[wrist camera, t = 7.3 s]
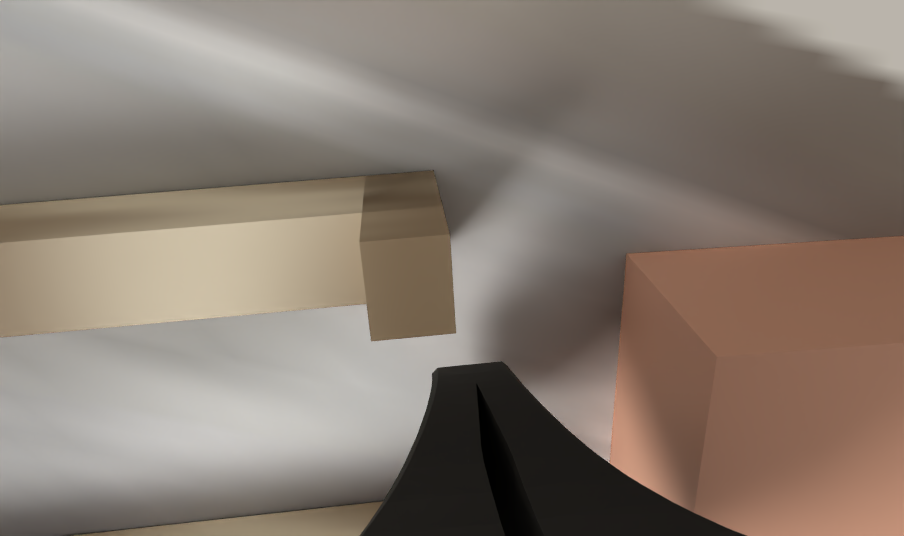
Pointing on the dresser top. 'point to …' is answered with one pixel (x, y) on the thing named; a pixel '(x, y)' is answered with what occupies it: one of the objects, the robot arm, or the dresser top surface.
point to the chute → (234, 276)
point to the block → (767, 385)
